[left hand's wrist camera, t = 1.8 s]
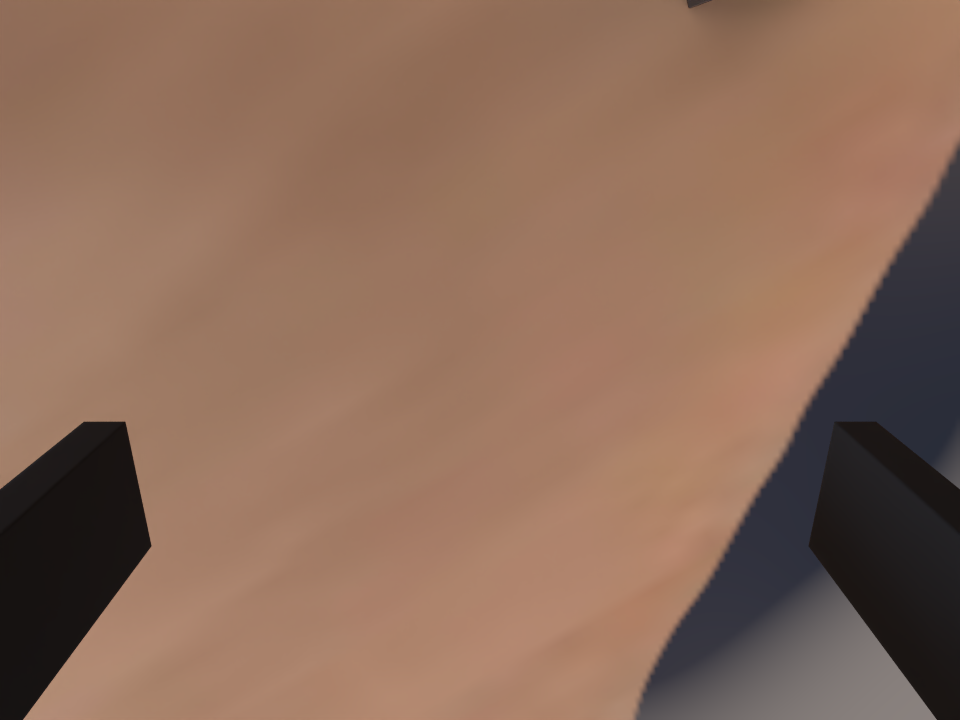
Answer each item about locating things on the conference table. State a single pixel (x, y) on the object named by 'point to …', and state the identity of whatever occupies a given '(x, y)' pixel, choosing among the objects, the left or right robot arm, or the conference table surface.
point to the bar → (696, 2)
